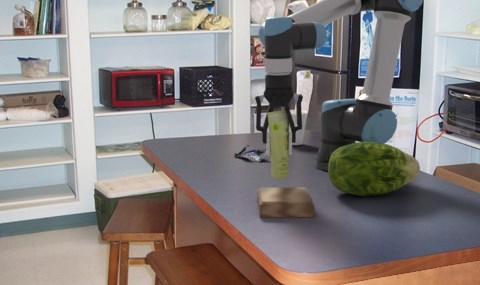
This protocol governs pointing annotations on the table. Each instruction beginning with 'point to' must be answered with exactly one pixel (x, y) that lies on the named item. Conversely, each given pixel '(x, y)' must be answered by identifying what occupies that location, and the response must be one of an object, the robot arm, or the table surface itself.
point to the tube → (279, 143)
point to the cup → (301, 132)
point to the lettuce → (371, 168)
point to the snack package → (252, 154)
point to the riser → (285, 202)
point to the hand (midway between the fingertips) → (279, 153)
